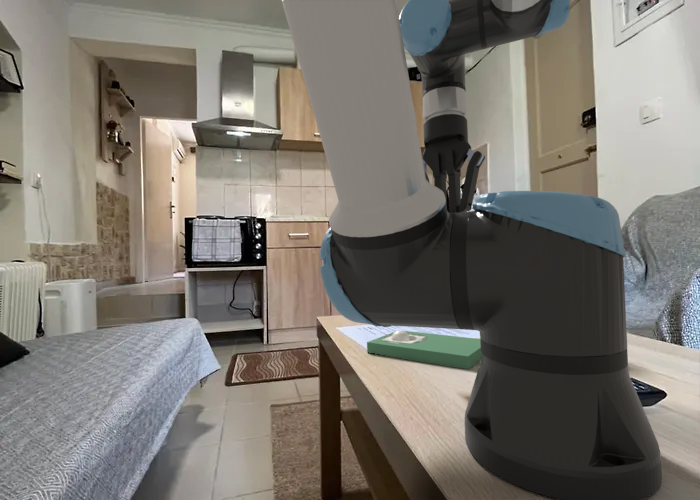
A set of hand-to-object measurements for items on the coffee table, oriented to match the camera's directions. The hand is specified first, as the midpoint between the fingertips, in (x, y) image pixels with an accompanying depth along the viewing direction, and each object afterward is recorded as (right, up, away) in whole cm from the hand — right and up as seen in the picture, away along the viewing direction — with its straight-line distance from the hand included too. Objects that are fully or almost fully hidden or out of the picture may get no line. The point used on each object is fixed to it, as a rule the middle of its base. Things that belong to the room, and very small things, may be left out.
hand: (449, 253), depth 63 cm
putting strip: (-3, -18, +3) cm, 19 cm away
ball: (-8, -17, +6) cm, 19 cm away
